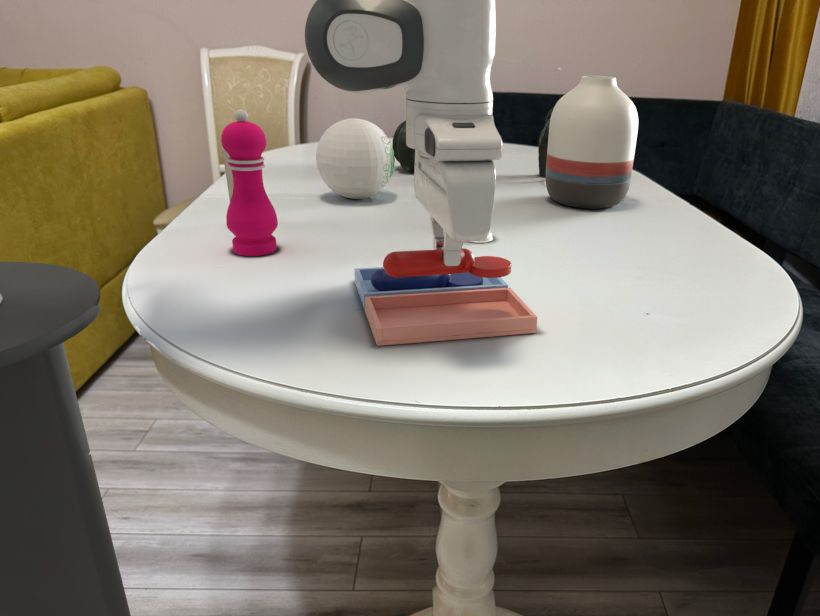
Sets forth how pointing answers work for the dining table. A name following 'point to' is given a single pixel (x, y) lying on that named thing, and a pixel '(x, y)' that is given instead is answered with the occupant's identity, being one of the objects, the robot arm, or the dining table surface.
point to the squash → (403, 149)
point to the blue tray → (368, 290)
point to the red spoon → (433, 264)
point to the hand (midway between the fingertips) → (446, 258)
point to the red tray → (448, 316)
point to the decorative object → (355, 158)
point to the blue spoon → (422, 281)
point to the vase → (591, 145)
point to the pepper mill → (248, 189)
